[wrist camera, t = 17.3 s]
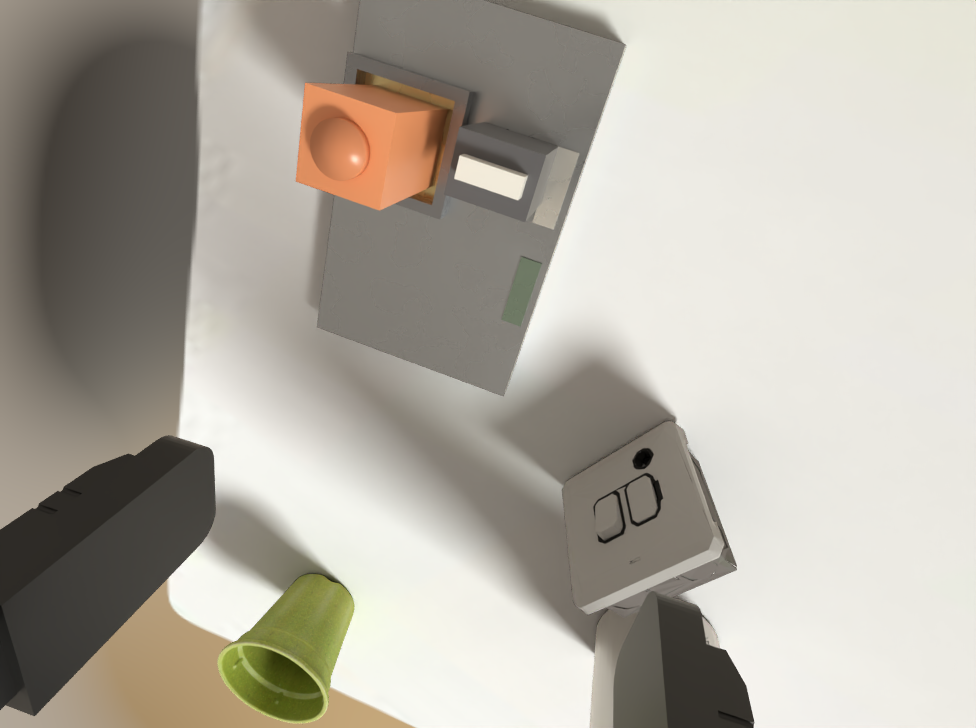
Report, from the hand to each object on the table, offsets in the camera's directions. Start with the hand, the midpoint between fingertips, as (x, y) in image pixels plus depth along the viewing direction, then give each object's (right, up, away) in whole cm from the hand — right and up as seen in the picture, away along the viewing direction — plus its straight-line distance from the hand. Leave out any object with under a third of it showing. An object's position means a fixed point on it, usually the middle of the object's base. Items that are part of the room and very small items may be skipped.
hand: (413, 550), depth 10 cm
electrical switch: (+12, -4, +27) cm, 30 cm away
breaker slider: (+3, +14, +19) cm, 23 cm away
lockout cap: (-3, +15, +19) cm, 25 cm away
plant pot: (-14, -18, +41) cm, 47 cm away
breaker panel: (-1, +12, +22) cm, 25 cm away
